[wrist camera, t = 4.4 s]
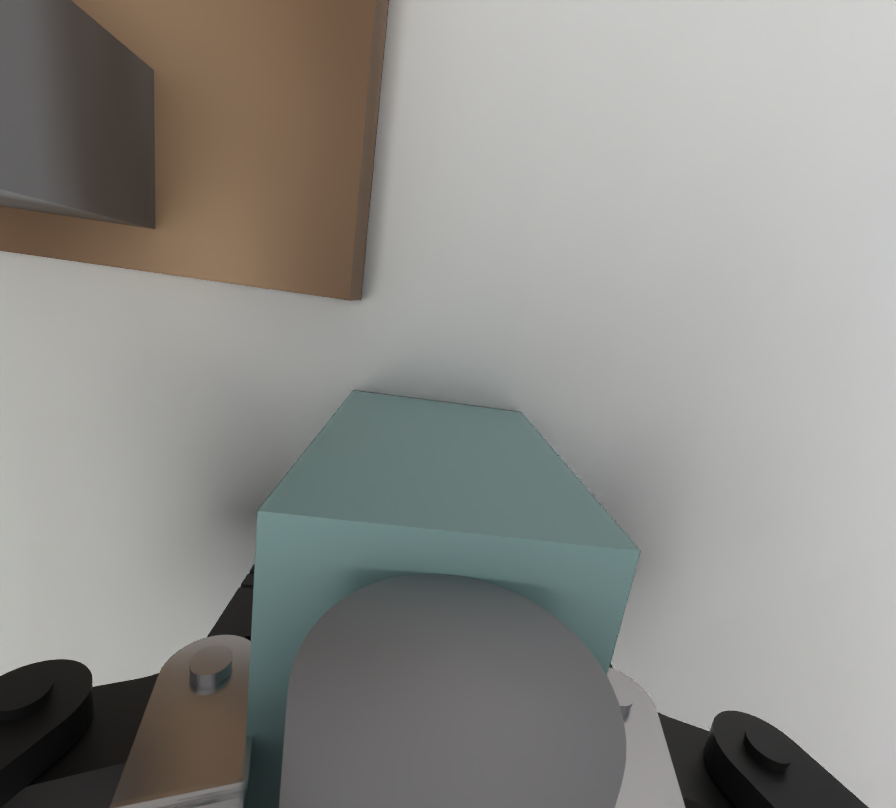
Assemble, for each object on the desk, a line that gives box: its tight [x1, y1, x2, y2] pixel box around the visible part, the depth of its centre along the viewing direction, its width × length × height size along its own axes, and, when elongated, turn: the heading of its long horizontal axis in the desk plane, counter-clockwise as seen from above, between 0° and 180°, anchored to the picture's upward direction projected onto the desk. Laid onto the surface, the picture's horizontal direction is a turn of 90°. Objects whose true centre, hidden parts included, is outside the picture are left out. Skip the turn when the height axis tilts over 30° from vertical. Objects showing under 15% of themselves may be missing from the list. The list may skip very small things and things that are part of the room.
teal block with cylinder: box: [246, 390, 640, 808], centre depth 7 cm, size 4×8×8 cm, turn 172°
